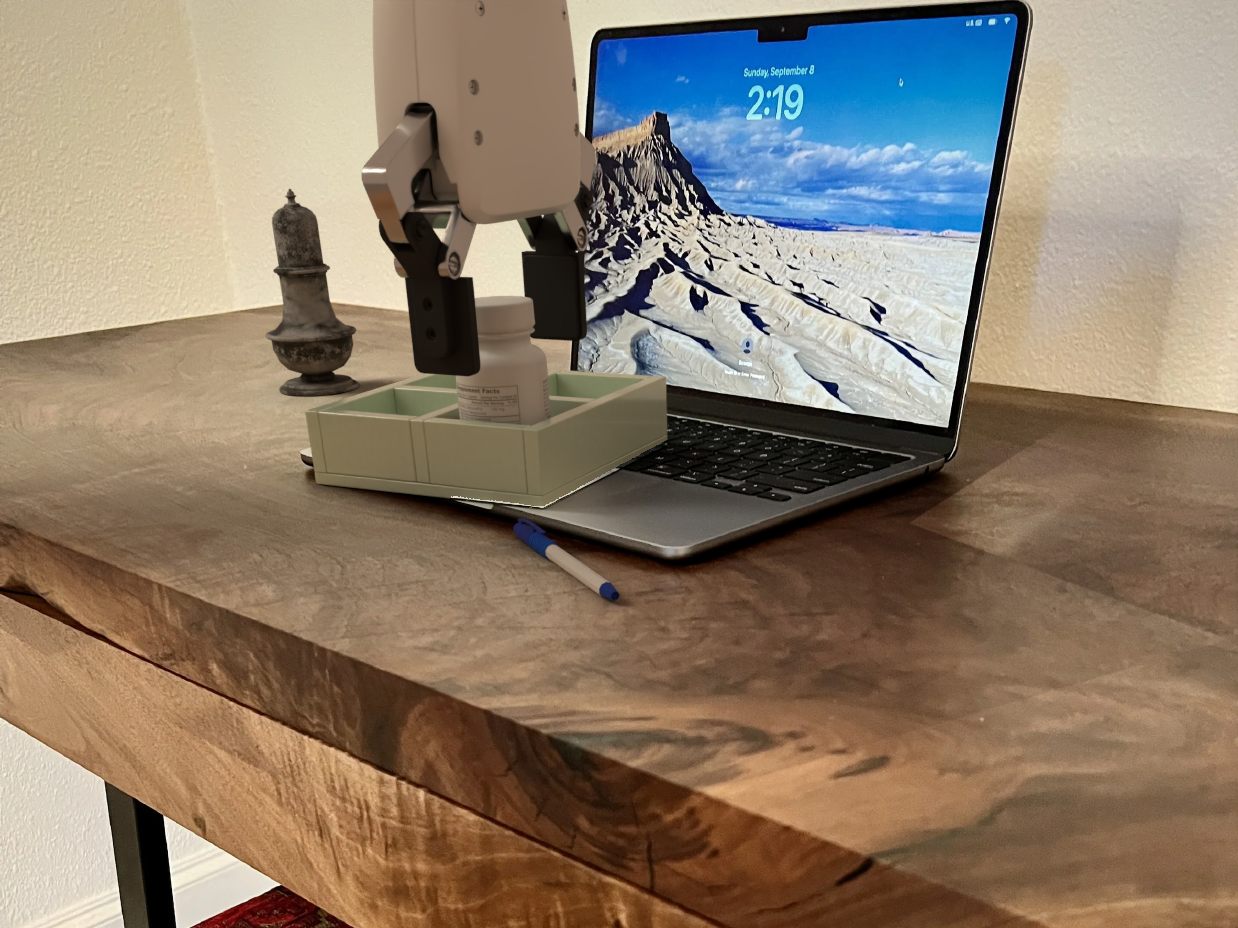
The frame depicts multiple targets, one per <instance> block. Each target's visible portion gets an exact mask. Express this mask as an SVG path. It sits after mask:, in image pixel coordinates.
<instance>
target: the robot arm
mask: <svg viewBox="0 0 1238 928" xmlns="http://www.w3.org/2000/svg"><path fill="white" fill-rule="evenodd" d="M571 31H572V30H571V23H570V16H569V8H568V3H567V0H372V62H373V64H372V65H373V89H374V104H375V105H374V106H375V107H374V108H375V121H376V122H375V123H376V133H377V134H376V135H377V146H378V147H377V150H376V151H375V152H374V153H373V154H372V155H371V156H370V158H369V159H368V160H367V161H366V163H365V164H364V165H363V167H362V168H361V182H362V186H363V187H364V190H365V193H366V195H367V198H368V199H369V202H370V205H371V207H372V209H373V211H374V214H375V216H376V218H377V220H378V232H379V236H380V238H381V239H382V241H383V242H384V244H385V246H386V247H387V248H388V249H389V251H390V253H391V254H392V255H393V266H394V271H395V273H396V274H397V275H398V277H400V278H403V279H404V283H405V291H406V292H405V293H406V301H407V310H408V320H409V327H410V336H411V337H410V338H411V346H412V355H413V363H414V368H415V369H416V370H417V371H418V372H419V373H420V374H424V373H425V374H440V375H454V376H472V375H475V374H477V373H478V372H479V371H480V353H479V342H478V330H477V319H476V307H475V298H476V296H475V285H474V277H473V276H462V273H463V270H464V267H465V263H466V261H467V257H468V254H469V251H470V248H471V244H472V241H473V238H474V234H475V231H476V229H477V225H493V224H497V223H498V224H499V223H505V222H511V221H516V222H517V223H518V226H519V227H520V229H521V231H522V233H523V236H524V237H525V239H526V241H527V243H528V245H529V247H530V248H531V250H524V251H521V265H522V267H521V268H522V279H523V294H524V297H528V298H531V299H532V300H533V307H534V319H535V325H534V326H533V328H534V329H535V331H534V332H533V333H531V334H530V339H533V340H548V341H549V340H550V341H566V342H567V341H569V342H578V341H581V340H584V339H585V338H586V337H587V336H588V324H587V322H588V320H587V302H586V301H587V300H586V281H585V279H586V278H585V259H584V251H585V250H586V249H587V247H588V243H589V234H588V233H589V231H588V230H587V227H586V222H587V220H588V216H589V214H590V212H591V208H592V201H593V196H592V194H591V192H590V191H591V188H592V182H593V176H594V169H595V164H596V163H595V162H596V150H595V147H594V145H593V144H592V143H591V142H590V141H589V140H588V139H587V137H586V136H585V135H583V133H582V132H581V129H580V115H579V114H580V112H579V101H578V89H577V78H576V77H577V75H576V67H575V57H574V48H573V38H572V32H571ZM435 229H437V230H445V231H444V234H443V237H442V239H440V237H439V235H438V234H437V233H436V231H435Z"/></svg>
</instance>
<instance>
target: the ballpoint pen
mask: <svg viewBox="0 0 1238 928" xmlns="http://www.w3.org/2000/svg"><path fill="white" fill-rule="evenodd" d="M516 520H517V523H515V524H514V525H513V533H514V534H515V536H516V537H517V538H518V539H519V540H520V542H522V543H524V544H525V545H526V546H528V547H529V548H531V549H532V550H533V551H535V552H537V554H539V555H541V556H542V557H543V558H545V559H546V560H548V561H551V562H552V563H553V564H555V565H557V566H558V567H559V568H561V569H562V570H564V571H565V572H566V573H568V574H569V575H571V576H572V577H573V578H574V579H576V580H578V581H579V582H580V583H582V584H583V585H585V587H587V588H588V589H590V590H591V591H593V592H594V593H596V594H597V595H598V596H600V597H601V598H603V599H607V600H610V601H615V602H616V601H618V600H619V598H620V593H619V592H618V590H617V589H616V587H615V586H614V585H613V583H612V582H611V581H609V580H607V579H606V578H605V577H604V576H602V575H600V574H598V573H597V572H596V571H594V570H593V569H592V568H590V567H589V566H587V565H585V563H583V562H582V561H580V560H579V559H577V558H575V556H573V555H571V554H569V553H568V552H567V551H566V550H564V549H562V547H560V546H559V545H558V544H557V543H556V542H554V541H553V540H552V539H551V538H549V537H547V536H546V535H547V532H546V531H545V530H544V529H542V527H540V526H539V525H537V524H536V523H534V522H533V521H531V520H530V519H527V518H523V517H522V518H517V519H516Z"/></svg>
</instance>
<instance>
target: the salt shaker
mask: <svg viewBox="0 0 1238 928" xmlns="http://www.w3.org/2000/svg"><path fill="white" fill-rule="evenodd" d="M284 197H285V198H286V199H287V203H284V205H283V206H282V207H280V208H278V209H277V210H275V211H274V213H273V215H272V217H271V226H272V232H273V233H272V234H273V239H274V245H275V252H276V258H277V265H278V266H276V267H275V268H273V271H272V272H273V273H274V274H276V275H277V276H278V279H279V285H280V291H281V298H282V318H281V322H279V324H278V325H277V326H276V328H275V329H272V330H269V331H267V332H266V333H265V338H266V339H267V340H269V341H271V346H272V351H273V353H274V354H275V356H276V358H277V360H278V361H279V363H280V364H281V365H282V366H284V367H285V368H286V369H287V370H288V371H290V372H294V373H298V374H300V376H297V377H293V378H290V379H287V380H286V381H284V384H282V385H280V387H279V388H278V391H279V392H280V393H281V394H283V395H287V396H295V397H297V396H298V397H311V396H313V397H314V396H315V397H316V396H327V395H328V396H329V395H335V394H341V393H345V392H350V391H353V390H355V389H358V388H360V387H359V386H360V383H359V382H358V381H357V380H356V379H353V378H352V377H351V376H350V375H347V374H338V373H335V372H334V371H337V370H339V369H341V368H343V367H344V366H346V364H347V363H348V361H349V360H350V358H351V357H352V353H353V349H354V348H353V347H354V339H353V335H355V334H356V332H357V328H356V327H355V326H353V325H350V324H345V323H344V322H343V321H341V320H340V319H339V318H338V317H337V315H336V314H335V311H334V308H333V305H332V302H331V298H330V292H329V286H328V285H329V284H328V278H327V277H328V276H327V273H328V271H330V270H331V266H330V265H328V264H326V263H324V258H323V251H322V244H321V237H320V230H319V223H318V222H319V221H318V219H317V215H316V214H315V213H314V211H312V210H311V209H309V208H308V207H306V206H302V205H301V204H300V203H299V202H296V197H297V195H296V194H295V192H294V191H293V190H292V189H291V188H288V191H286V195H284Z"/></svg>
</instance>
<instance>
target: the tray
mask: <svg viewBox="0 0 1238 928" xmlns="http://www.w3.org/2000/svg"><path fill="white" fill-rule="evenodd" d="M547 370H548V386H549V400H550V415H551V418H550V419H547V420H545V421H542V422H540V423H537V424H535V425H532V426H530V425H518V424H506V423H494V422H481V421H469V420H460V416H459V406H458V395H457V386H456V376H454V375H440V374H425V373H420V374H418V375H415V376H412V377H409V378H405V379H403V380H399V381H396V382H392V383H390V384H385V385H383V386H380V387H377V388H374V389H371V390H367V391H364V392H361V393H357V394H354V395H351V396H348V397H345V398H342V399H339V400H336V401H332V402H329V403H326V404H321V405H319V406H315V407H312V408H309V409H307V410H305V411H304V413H305V419H306V425H307V432H308V439H309V440H308V441H309V446H310V452H311V459H312V464H313V471H314V478H315V483H316V484H317V485H325V486H332V487H333V486H334V487H342V488H351V489H359V490H360V489H361V490H368V491H369V490H370V491H379V492H389V493H397V494H407V495H414V496H423V497H424V496H425V497H433V498H441V499H450V498H451V496H452V497H453V496H458V497H460V496H461V497H464V498H466V497H467V498H468V499H469V498H471V499H473V498H474V499H480V500H490V501H491V500H493V501H495V500H496V501H503V502H510V503H519V504H524V505H531V506H545V505H546V504H549V503H550V502H553V501H555V500H556V499H559V497H562V496H564V495H566V494H568V493H570V492H571V491H574V490H576V489H577V488H579V487H580V486H582V485H585V484H586V483H588V482H590V481H592V480H594V479H595V478H597V477H600V476H601V475H602V474H605V473H606V472H608V471H611V470H612V469H614V468H616V467H618V466H619V465H620V464H623V463H625V462H627V461H629V460H631V459H632V458H635V457H636V456H639V455H640V454H641V453H643V452H645V451H647V450H649V449H651V448H653V447H655V446H656V445H659V444H661V443H662V442H664V441H666V440H668V439H669V438H668V405H667V404H668V401H667V400H668V399H667V377H666V376H661V375H646V374H645V375H644V374H628V373H613V372H612V373H611V372H610V373H609V372H595V371H581V370H561V369H548V368H547Z"/></svg>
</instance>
